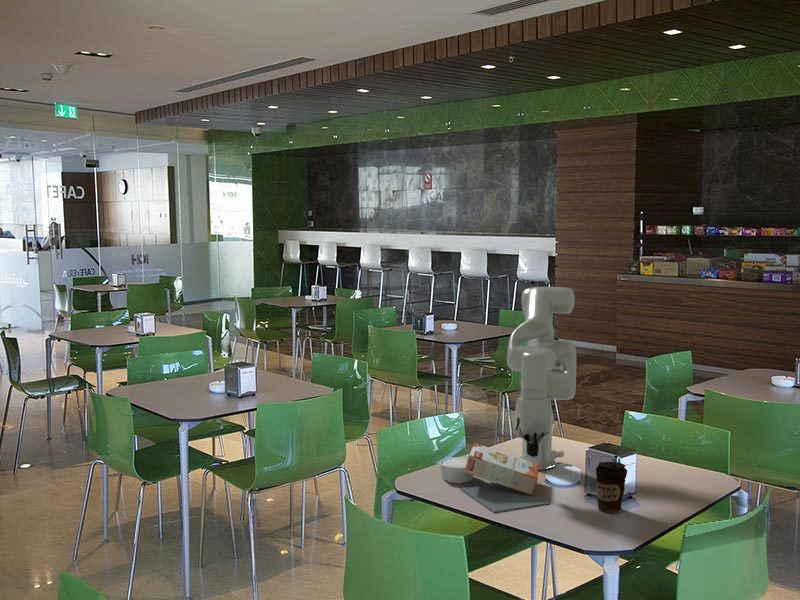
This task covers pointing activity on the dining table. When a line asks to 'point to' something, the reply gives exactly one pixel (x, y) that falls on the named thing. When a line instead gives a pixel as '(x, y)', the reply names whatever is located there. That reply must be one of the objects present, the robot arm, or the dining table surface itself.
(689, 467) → the dining table surface
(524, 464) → the cracker box
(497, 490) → the rubber mat
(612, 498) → the coffee cup
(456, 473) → the ramekin
